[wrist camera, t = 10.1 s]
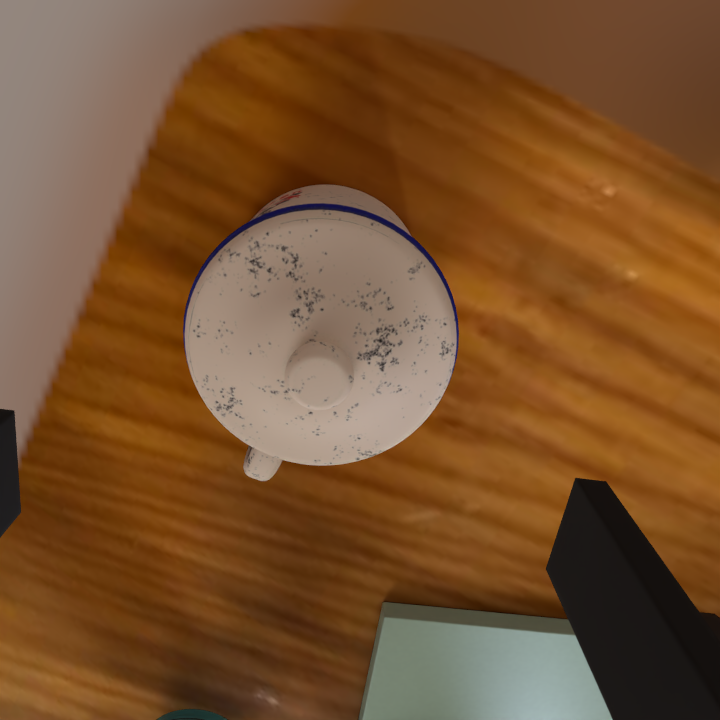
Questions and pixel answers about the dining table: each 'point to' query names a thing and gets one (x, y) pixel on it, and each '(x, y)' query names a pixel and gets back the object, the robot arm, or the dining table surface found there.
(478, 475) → the dining table surface
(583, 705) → the scale
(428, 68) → the dining table surface
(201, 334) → the teacup with lid
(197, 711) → the beverage bottle
